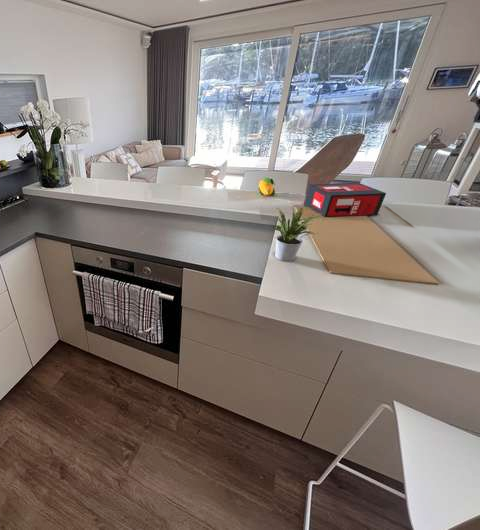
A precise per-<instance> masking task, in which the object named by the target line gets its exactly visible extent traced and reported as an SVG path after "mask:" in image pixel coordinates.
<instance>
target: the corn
mask: <svg viewBox="0 0 480 530" xmlns="http://www.w3.org/2000/svg"><path fill="white" fill-rule="evenodd" d="M274 186H276V182H275V180H274V179H272V178H270V177H262V180H260V181H259V183H258V191H259V193H260V195H262V196H270V197H274V196H275V194H276V190H275V188H274Z"/></svg>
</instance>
